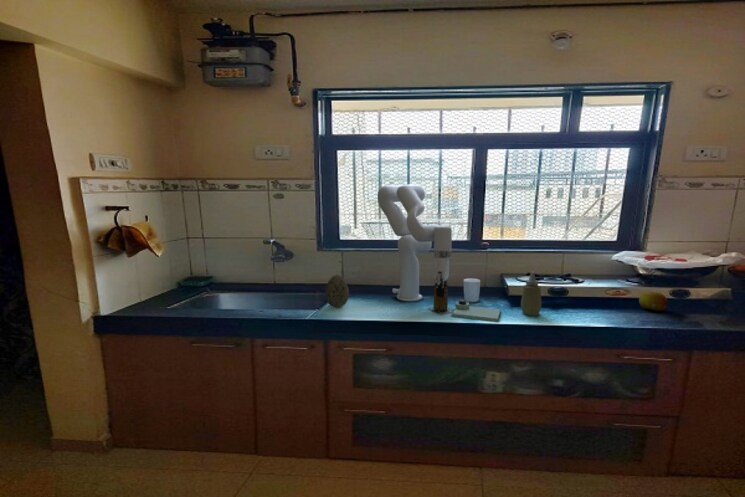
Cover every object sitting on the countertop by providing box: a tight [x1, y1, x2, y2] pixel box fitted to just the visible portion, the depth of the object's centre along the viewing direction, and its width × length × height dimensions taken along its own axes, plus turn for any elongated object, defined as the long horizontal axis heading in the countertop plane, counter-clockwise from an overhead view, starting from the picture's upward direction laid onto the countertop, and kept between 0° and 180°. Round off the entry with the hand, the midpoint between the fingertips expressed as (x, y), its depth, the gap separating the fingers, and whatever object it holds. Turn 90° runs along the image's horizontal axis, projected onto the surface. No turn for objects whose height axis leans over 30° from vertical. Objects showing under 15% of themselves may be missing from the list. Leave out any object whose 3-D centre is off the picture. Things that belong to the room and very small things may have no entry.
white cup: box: [462, 277, 481, 303], centre depth 169 cm, size 8×8×10 cm
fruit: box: [638, 291, 668, 312], centre depth 150 cm, size 10×9×8 cm
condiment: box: [429, 282, 454, 314], centre depth 154 cm, size 7×8×12 cm
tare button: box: [458, 299, 467, 305], centre depth 154 cm, size 3×3×2 cm
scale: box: [451, 301, 501, 322], centre depth 148 cm, size 18×13×3 cm
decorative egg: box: [324, 274, 350, 309], centre depth 160 cm, size 11×11×15 cm
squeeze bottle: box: [520, 271, 543, 317], centre depth 147 cm, size 8×8×18 cm
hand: (441, 294), depth 154 cm, fingers closed on condiment, 6 cm apart
